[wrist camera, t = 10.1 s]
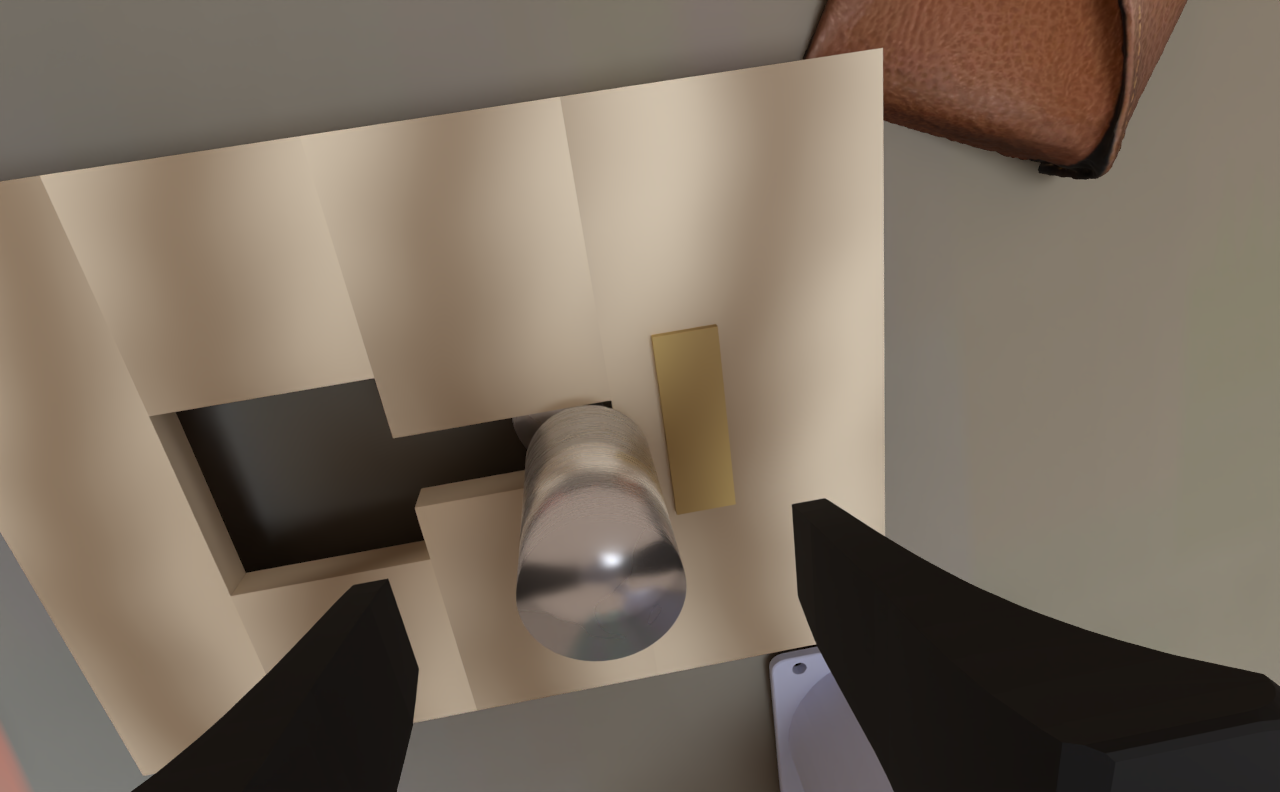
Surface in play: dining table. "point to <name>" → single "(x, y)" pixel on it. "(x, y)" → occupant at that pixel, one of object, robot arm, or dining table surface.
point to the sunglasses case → (1010, 70)
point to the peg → (594, 536)
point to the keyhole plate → (448, 368)
